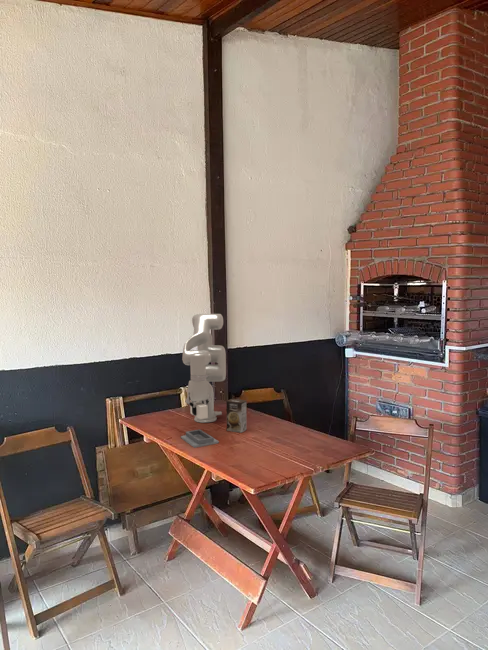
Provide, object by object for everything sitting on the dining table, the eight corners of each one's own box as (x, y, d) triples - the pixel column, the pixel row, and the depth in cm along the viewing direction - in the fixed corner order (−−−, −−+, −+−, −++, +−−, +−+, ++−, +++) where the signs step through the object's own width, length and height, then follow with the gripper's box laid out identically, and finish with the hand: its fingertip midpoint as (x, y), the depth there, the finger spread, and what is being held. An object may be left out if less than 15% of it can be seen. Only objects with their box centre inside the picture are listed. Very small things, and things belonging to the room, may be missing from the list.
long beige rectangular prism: (197, 412, 268) (197, 400, 267) (207, 417, 257) (207, 405, 257) (190, 413, 266) (190, 401, 265) (200, 419, 256) (200, 406, 255)
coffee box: (226, 430, 279) (225, 400, 277) (232, 427, 285) (231, 398, 283) (241, 433, 275) (241, 402, 273) (247, 429, 280) (246, 399, 279)
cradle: (204, 433, 274) (204, 428, 273) (218, 443, 259) (218, 437, 259) (180, 438, 267) (180, 432, 267) (194, 447, 253) (194, 441, 252)
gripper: (210, 374, 267) (210, 410, 269) (179, 378, 259) (180, 414, 261) (217, 377, 261) (217, 413, 262) (185, 381, 252) (186, 418, 254)
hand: (198, 413), depth 262 cm, fingers closed on long beige rectangular prism, 4 cm apart
